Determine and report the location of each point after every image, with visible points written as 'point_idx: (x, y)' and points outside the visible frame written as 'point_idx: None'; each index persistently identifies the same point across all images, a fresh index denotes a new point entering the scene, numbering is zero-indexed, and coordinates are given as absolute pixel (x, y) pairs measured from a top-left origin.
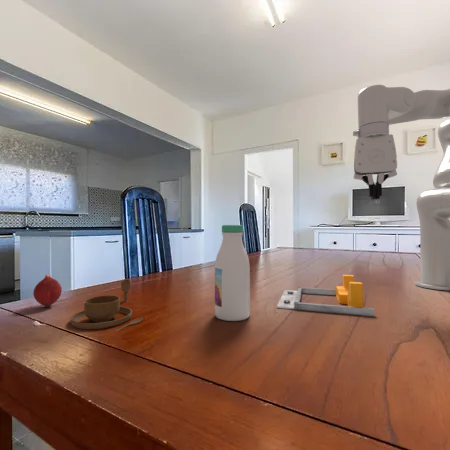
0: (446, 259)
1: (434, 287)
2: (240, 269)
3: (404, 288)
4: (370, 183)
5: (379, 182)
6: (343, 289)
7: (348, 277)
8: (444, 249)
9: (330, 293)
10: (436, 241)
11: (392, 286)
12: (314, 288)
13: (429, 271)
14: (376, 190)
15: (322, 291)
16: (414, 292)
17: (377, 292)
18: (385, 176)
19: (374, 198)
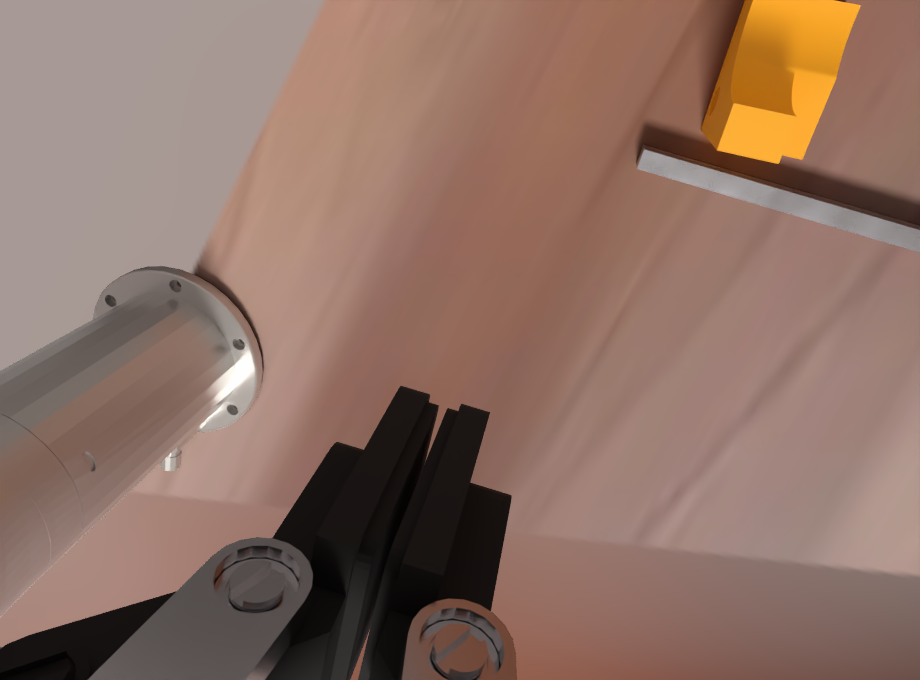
0: (79, 348)
1: (220, 296)
2: None
3: (340, 325)
4: (474, 642)
5: (286, 586)
6: (804, 68)
7: (766, 108)
8: (45, 376)
9: (798, 192)
10: (43, 419)
11: (374, 366)
12: (886, 231)
13: (186, 359)
14: (404, 487)
15: (844, 205)
16: (334, 248)
17: (507, 250)
18: (62, 677)
19: (473, 410)
